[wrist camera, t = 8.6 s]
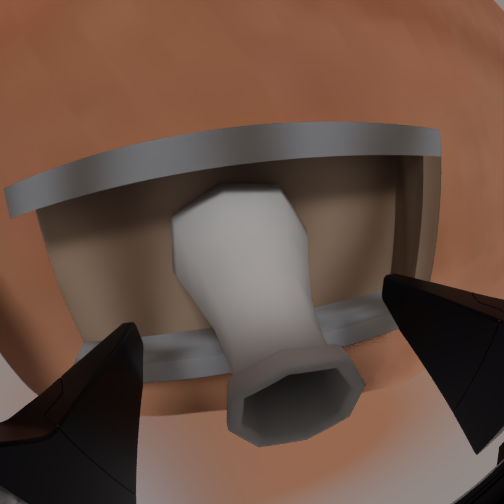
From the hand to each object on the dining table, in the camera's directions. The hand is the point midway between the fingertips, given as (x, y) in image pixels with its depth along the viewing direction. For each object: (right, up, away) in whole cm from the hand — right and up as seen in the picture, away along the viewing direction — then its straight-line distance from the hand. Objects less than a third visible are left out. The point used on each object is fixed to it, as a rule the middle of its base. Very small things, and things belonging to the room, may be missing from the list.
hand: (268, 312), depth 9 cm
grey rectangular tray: (-1, +2, +6) cm, 7 cm away
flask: (-1, +2, +5) cm, 6 cm away
